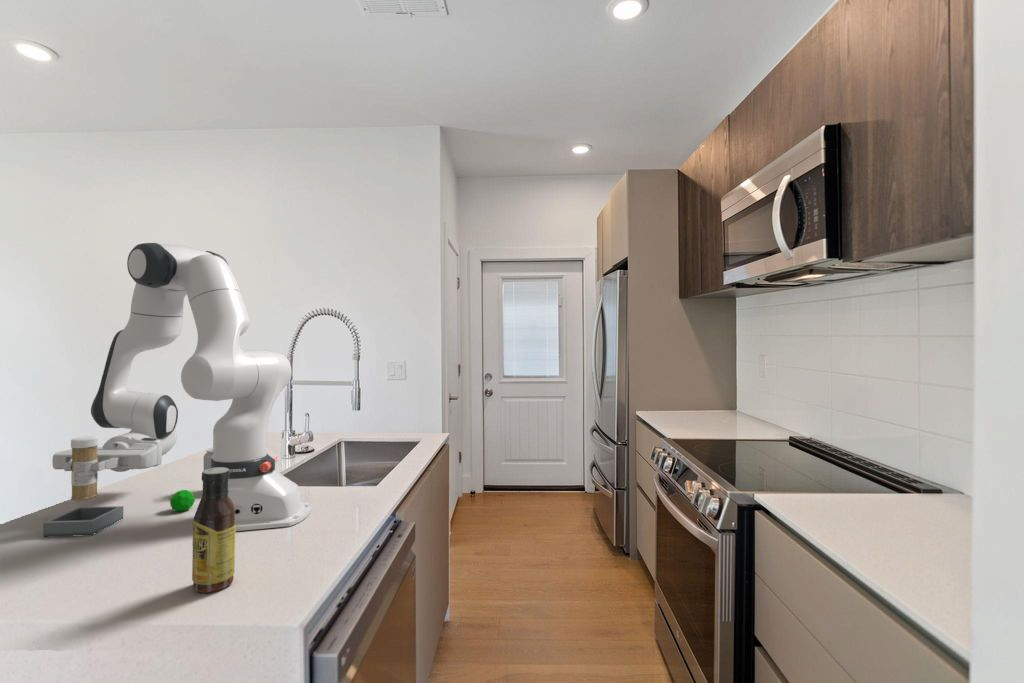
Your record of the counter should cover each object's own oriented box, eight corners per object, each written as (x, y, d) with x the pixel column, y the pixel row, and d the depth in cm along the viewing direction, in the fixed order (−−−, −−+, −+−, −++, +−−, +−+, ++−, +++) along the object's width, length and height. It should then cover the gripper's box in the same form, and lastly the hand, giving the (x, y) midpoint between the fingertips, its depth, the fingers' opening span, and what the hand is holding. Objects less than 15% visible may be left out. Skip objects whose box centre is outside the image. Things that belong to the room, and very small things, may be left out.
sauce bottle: (188, 585, 85) (188, 469, 85) (228, 573, 89) (229, 462, 89) (197, 600, 80) (198, 476, 80) (240, 586, 85) (240, 469, 85)
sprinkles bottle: (77, 495, 112) (77, 435, 111) (102, 494, 113) (102, 434, 113) (66, 502, 107) (66, 440, 107) (91, 500, 109) (91, 439, 108)
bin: (123, 519, 115) (123, 506, 115) (92, 535, 106) (92, 521, 106) (78, 520, 114) (78, 507, 114) (43, 536, 105) (43, 522, 105)
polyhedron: (166, 514, 118) (166, 494, 118) (176, 507, 123) (176, 488, 123) (189, 513, 119) (189, 493, 119) (198, 506, 124) (198, 487, 124)
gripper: (79, 439, 122) (30, 453, 108) (168, 439, 124) (130, 453, 110) (79, 465, 122) (30, 482, 108) (167, 464, 124) (130, 481, 110)
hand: (81, 467), depth 109 cm, fingers closed on sprinkles bottle, 4 cm apart
